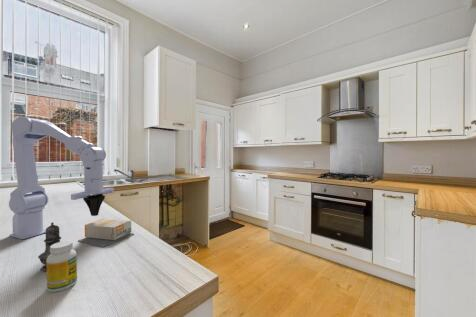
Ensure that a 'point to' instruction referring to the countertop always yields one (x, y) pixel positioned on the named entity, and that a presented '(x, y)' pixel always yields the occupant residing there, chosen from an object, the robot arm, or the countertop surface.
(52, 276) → the supplement bottle
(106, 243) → the slate mat
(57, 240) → the stone chess piece
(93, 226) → the supplement box
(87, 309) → the countertop surface
